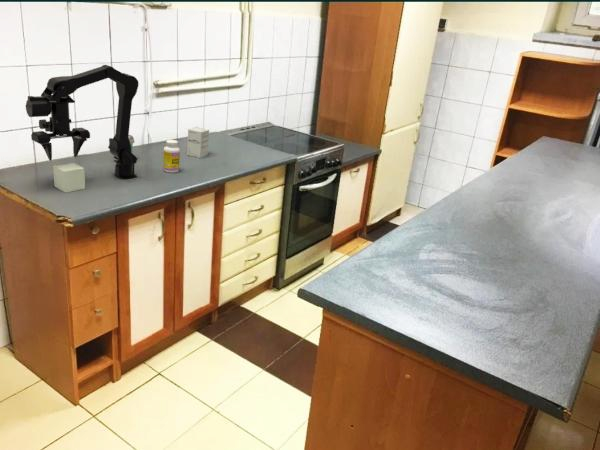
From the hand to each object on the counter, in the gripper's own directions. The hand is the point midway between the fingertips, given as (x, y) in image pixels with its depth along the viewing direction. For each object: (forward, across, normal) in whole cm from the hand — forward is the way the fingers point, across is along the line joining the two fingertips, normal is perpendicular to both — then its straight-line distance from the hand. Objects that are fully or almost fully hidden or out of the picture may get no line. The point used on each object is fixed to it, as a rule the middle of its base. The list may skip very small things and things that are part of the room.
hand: (62, 158), depth 185 cm
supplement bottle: (+10, -44, +5) cm, 45 cm away
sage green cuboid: (+10, 0, +4) cm, 11 cm away
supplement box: (+10, -69, -8) cm, 70 cm away
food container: (+10, -36, -16) cm, 41 cm away
